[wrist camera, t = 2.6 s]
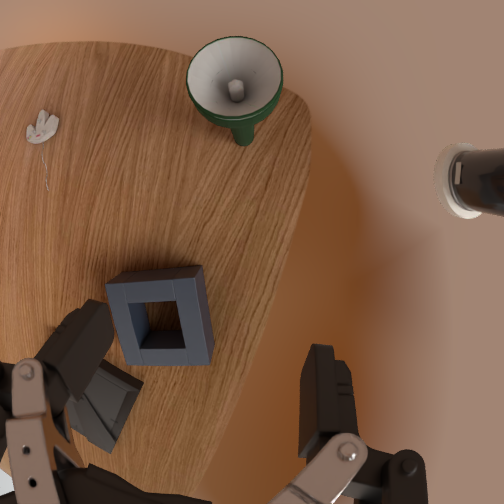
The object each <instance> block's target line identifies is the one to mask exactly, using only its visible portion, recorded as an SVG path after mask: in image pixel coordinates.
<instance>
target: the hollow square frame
mask: <svg viewBox="0 0 504 504" xmlns="http://www.w3.org/2000/svg"><path fill="white" fill-rule="evenodd" d="M105 288H106V292H107V297H108V301H109V305H110V309H111V313H112V316H113V320H114V324H115V327H116V331H117V334H118V338H119V341H120V344H121V348H122V351H123V354H124V357H125V360H126V363H127V365H142V366H144V365H146V366H189V365H190V366H195V365H210V363H211V358H212V354H213V349H214V345H215V344H214V338H213V332H212V326H211V320H210V314H209V308H208V301H207V295H206V288H205V282H204V275H203V268H202V265H200V266H189V267H178V268H166V269H155V270H143V271H131V272H121V273H120V274H118V275H117V276H115V277H114V278H113V279H111V280H110V281H108V282H107V283H105ZM163 301H176V303H177V308H178V313H179V318H180V323H181V328H182V330H170V331H151V329H150V325H149V320H148V316H147V312H146V307H145V303H144V302H163Z"/></svg>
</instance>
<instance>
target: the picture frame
mask: <svg viewBox="0 0 504 504" xmlns="http://www.w3.org/2000/svg"><path fill="white" fill-rule="evenodd" d="M143 384H144V383H143V382H141V381H140V380H138V379H136V378H134V377H132V376H131V375H129V374H127V373H125V372H124V371H122V370H120V369H119V368H117V367H115V366H113V365H112V364H110V363H109V362H107V361H105V360H104V359H103V360H102V361H101V363H100V365H99V366H98V368H97V370H96V372H95V373H94V375H93V377H92V379H91V380H90V382H89V384H88V386H87V388H86V389H85V391H84V393H83V395H82V397H81V398H80V400H79V402H78V403H76V402H74V401H71V400H69V399H68V401H67V403H66V406H67V410H68V416H69V421H70V426H71V428H72V429H74V430H76V431H77V432H79V433H80V434H82V435H84V436H85V437H87V440H88V441H89V442H91V443H93V444H94V445H96V446H98V447H99V448H101V449H103V450H104V451H106V452H108V453H110V454H111V452H112V450H113V448H114V446H115V444H116V442H117V439H118V437H119V435H120V433H121V430H122V428H123V426H124V424H125V422H126V420H127V417H128V415H129V413H130V411H131V409H132V407H133V405H134V402H135V400H136V398H137V396H138V394H139V392H140V390H141V388H142V386H143Z"/></svg>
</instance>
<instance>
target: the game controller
mask: <svg viewBox="0 0 504 504" xmlns="http://www.w3.org/2000/svg"><path fill="white" fill-rule="evenodd" d="M58 122H59V118H58V117H56V116H54V115H51V116H50V117H49V113H48V112H46V111H45V110H41V111H40V113H39V116H38V119H37V124H36V127H35V126H33V125H29V126H28V127H27V136H26V137H27V141H29V142H31V143H33V144H37V143H41V142H44V141H46V140H48V139H49V138H51V137H52V136H53V135H54V134H55V133H56V130H57V126H58ZM43 147H44V145H43ZM42 160H43V156H42ZM43 163H44V161H43ZM44 164H45V163H44ZM45 166H46V164H45ZM46 171H47V167H46ZM46 178H47V177H46ZM46 185H47V181H46ZM47 189H48V187H47ZM48 191H49V190H48Z"/></svg>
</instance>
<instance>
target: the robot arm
mask: <svg viewBox="0 0 504 504" xmlns="http://www.w3.org/2000/svg"><path fill="white" fill-rule="evenodd" d="M448 182H449V188H450V192H451V195H452V197H453V199H454V201H455V202H456V203H457V205H458V206H459V207H461V208H462V209H464V210H467V211H476V212H482V213H487V214H492V215H497V216H503V217H504V148H501V149H488V150H475V151H461V152H459V153H458V154H456V155H455V156H454V158H453V159H452V161H451V164H450V167H449V173H448ZM113 339H114V328H113V324H112V320H111V316H110V312H109V308H108V305H107V304H106V303H103V302H100V301H96V300H92V299H89V300H87V301H86V303H85V304H84V305H83V306H82V307H81V309H79V308H77V309H75V310H74V311H72V312H71V313H69V314H68V315H67V316H66V317H65V318H64V320H63V321H62V322H61V325H59V326H58V327H57V328H56V330H55V332H53V334H52V335H51V336H50V337H49V339H48V340H47V341H46V343H45V344H44V345H43V347H42V348H41V349H40V351H39V352H38V353H37V355H36V356H35V357H34V358H25V359H22V360H20V361H19V362H18V363H17V364H9V363H3V362H1V361H0V462H1V459H2V457H3V455H4V452H5V450H6V448H7V447H8V455H9V462H10V469H11V475H12V480H13V485H14V490H15V491H12V492H9V493H7V494H4V495H1V496H0V504H212V502H211V501H205V500H201V499H196V498H192V497H187V496H183V495H179V494H160V493H148V492H144V491H142V490H140V489H138V488H137V487H135V486H133V485H132V484H130V483H129V482H127V481H126V480H124V479H122V478H121V477H119V476H118V475H116V474H114V473H112V472H109V471H107V470H104V469H102V468H100V467H97V466H95V465H93V464H90V463H89V465H88V468H85V467H84V464H83V461H82V459H81V456H80V454H79V453H78V451H77V449H76V446H75V443H74V439H73V435H72V430H71V426H70V421H69V416H68V410H67V406H66V403H67V401H68V399H69V400H71V401H74V402H76V403H78V402H79V400H80V398H81V397H82V395H83V393H84V391H85V389H86V388H87V386H88V384H89V382H90V380H91V379H92V377H93V375H94V373H95V372H96V370H97V368H98V366H99V365H100V363H101V361H102V360H103V358H104V356H105V355H106V353H107V351H108V350H109V348H110V346H111V344H112V342H113ZM353 394H354V392H353V386H352V378H351V372H350V370H349V368H348V367H347V365H346V364H345V362H344V361H341V360H335V357H334V349H333V346H330V345H322V344H312V345H311V348H310V350H309V353H308V356H307V358H306V361H305V363H304V366H303V369H302V373H301V379H300V416H299V447H298V457H299V458H306V467H305V468H304V469H303V470H302V471H301V472H300V473H299V474H298V475H297V476H296V477H295V478H294V479H293V480H292V481H291V482H290V483H289V484H288V485H287V486H286V487H285V488H283V490H281V491H280V493H278V494H277V495H276V496H275V497H274V498H273V499H272V500H270V501H269V502H268V503H267V504H332V503H333V502H334V501H335V500H336V499H337V498H338V496H339V495H344V496H348V497H352V498H354V504H428V493H427V481H426V470H425V463H424V460H423V458H422V457H421V456H420V455H419V454H418V453H417V452H415V451H413V450H407V449H406V450H401V451H399V452H397V453H396V454H394V455H393V454H389V453H385V452H381V451H378V450H374V449H372V448H370V447H368V446H367V445H366V444H365V443H364V441H363V440H362V439H361V438H360V436H359V433H358V426H357V417H356V409H355V400H354V396H353Z"/></svg>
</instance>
